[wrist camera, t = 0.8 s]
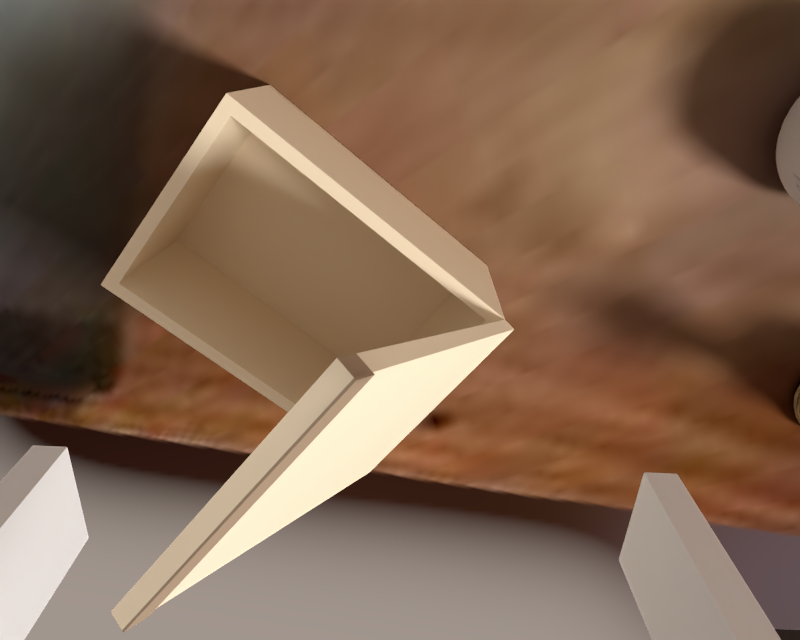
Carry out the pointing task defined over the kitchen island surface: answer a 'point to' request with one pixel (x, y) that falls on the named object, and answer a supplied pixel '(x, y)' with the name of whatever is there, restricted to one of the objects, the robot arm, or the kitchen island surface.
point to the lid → (315, 454)
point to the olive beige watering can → (797, 403)
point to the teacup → (790, 152)
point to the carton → (292, 253)
